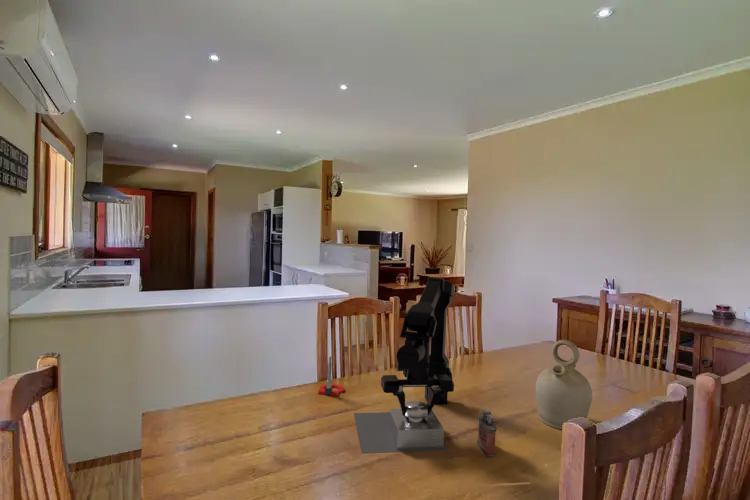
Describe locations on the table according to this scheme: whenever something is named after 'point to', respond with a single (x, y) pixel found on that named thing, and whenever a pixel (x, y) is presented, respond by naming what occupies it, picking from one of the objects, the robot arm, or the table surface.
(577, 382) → the jug
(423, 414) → the silver door knob
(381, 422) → the mat
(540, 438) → the table surface
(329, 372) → the tow hook
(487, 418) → the lighter
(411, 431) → the hitch block
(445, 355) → the robot arm
